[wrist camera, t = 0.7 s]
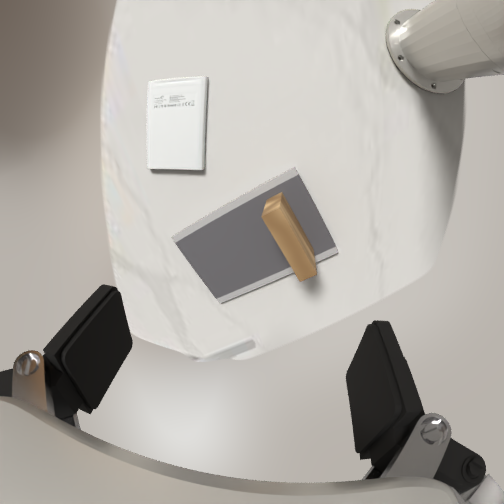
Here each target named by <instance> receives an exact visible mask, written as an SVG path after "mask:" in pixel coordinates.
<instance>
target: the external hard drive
mask: <svg viewBox="0 0 504 504" xmlns="http://www.w3.org/2000/svg"><path fill="white" fill-rule="evenodd" d="M207 87H208V77H207V76H193V77H181V78H170V79H161V80H153V81H148V95H147V169H181V170H203V169H205V132H206V106H207Z"/></svg>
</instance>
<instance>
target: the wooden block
mask: <svg viewBox="0 0 504 504" xmlns="http://www.w3.org/2000/svg"><path fill="white" fill-rule="evenodd" d="M261 217H262V219H263V221H264V222H265V224H266V226H267V227H268V229H269V230H270V232H271V234H272V235H273V237H274V239H275V240H276V242H277V244H278V245H279V247H280V249H281V251H282V252H283V254H284V256H285V257H286V259H287V261H288V262H289V264H290V266H291V267H292V269H293V271H294V273H295V274H296V276H297V278H298V279H299V281H300V282H301V281H303V280H305V279H308V278H310V277H312V276H315V275H317V271H316V263H315V255H314V249H313V247H312V245H311V243H310V242H309V240H308V238H307V236H306V234H305V232H304V230H303V229H302V227H301V225H300V223H299V221H298V220H297V218H296V216H295V214H294V212H293V211H292V209H291V207H290V205H289V204H288V202H287V200H286V198H285V196H284V195H283V193H282V192H281V193H279V194H277V195H275V196H273V197H271V198H269V199H267V201H266V204H265V207H264V210H263V213H262V216H261Z"/></svg>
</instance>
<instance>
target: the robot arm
mask: <svg viewBox="0 0 504 504" xmlns="http://www.w3.org/2000/svg"><path fill="white" fill-rule="evenodd" d="M395 23H396V24H395ZM386 42H387V47H388V49H389V52H390V55H391V57H392V59H393V60H394V62H395V64H396V65H397V67H398V68H399V69H400V71H401V72H402V73H403V74H404V75H405V76H406V77H407V78H408V79H409V80H410V81H412V82H413V83H414V84H416V85H417V86H419V87H420V88H422V89H425V90H427V91H429V92H434V93H449V92H452V91H455V90H456V89H458V88H459V87H460V86H461V85H462V83H463V82H464V80H465V78H473V77H482V76H494V75H504V0H434V1H433V2H431V3H430V4H429V5H427V6H426V7H425V8H423V9H422V10H417V9H406V10H403V11H400V12H398V13H397V14H395V15H394V16H393V17H392V18H391V19H390V21H389V23H388V25H387V29H386ZM398 58H399V59H400V60H399V59H398ZM431 86H432V87H431ZM131 348H132V337H131V334H130V330H129V326H128V322H127V318H126V314H125V310H124V306H123V302H122V297H121V293H120V292H119V291H118V290H117V288H116V287H113V286H109V285H101V286H100V287H99V288H98V289H97V290H96V291H95V292H94V293H93V294H92V295H91V296H90V298H88V300H87V301H86V302H85V303H84V304H83V305H82V306H81V307H80V308H79V309H78V310H77V311H76V312H75V314H74V315H73V316H72V317H71V318H70V319H69V320H68V322H67V323H66V324H65V325H64V326H63V327H62V328H61V329H60V330H59V332H58V333H57V334H56V335H55V336H54V337H53V339H52V340H51V341H50V342H49V343H48V344H47V346H46V347H45V348H44V349H43V351H44V352H45V354H44V355H43V356H42V355H41V353H39V352H38V351H34V350H29V351H26V352H23V353H22V354H20V355H19V356H18V357H17V358H16V360H15V362H14V365H13V369H9V370H5V371H2V372H0V504H504V491H503V490H502V489H501V488H500V487H499V485H498V484H497V483H496V482H495V480H494V479H493V478H492V477H491V476H490V475H489V474H488V475H487V476H486V475H485V472H486V465H485V462H484V460H483V458H482V457H481V456H480V455H478V454H477V453H475V452H473V451H471V450H470V449H468V448H466V447H465V446H463V445H461V444H460V443H458V442H456V441H455V440H453V439H451V427H450V425H449V423H448V421H447V420H446V419H445V418H444V417H443V416H441V415H439V414H436V413H429V414H425V413H424V410H423V406H422V403H421V400H420V397H419V395H418V392H417V388H416V386H415V383H414V380H413V377H412V374H411V372H410V369H409V366H408V364H407V361H406V359H405V357H403V354H402V351H401V349H400V346H399V344H398V341H397V339H396V336H395V334H394V331H393V329H392V327H391V325H390V323H389V322H388V321H373V322H372V324H369V325H368V326H367V328H366V330H365V332H364V335H363V337H362V340H361V342H360V344H359V347H358V349H357V351H356V353H355V355H354V358H353V360H352V362H351V364H350V366H349V368H348V371H347V374H346V382H347V389H348V396H349V402H350V409H351V417H352V425H353V433H354V442H355V450H356V452H357V453H360V460H361V459H370V458H371V464H372V467H371V468H370V470H369V471H368V472H367V474H366V475H365V476H364V477H363V479H362V480H358V481H346V482H326V483H286V482H269V481H257V480H248V479H240V478H233V477H226V476H220V475H214V474H209V473H204V472H199V471H195V470H190V469H186V468H182V467H178V466H174V465H171V464H167V463H164V462H160V461H157V460H154V459H151V458H147V457H145V456H142V455H139V454H136V453H133V452H130V451H128V450H125V449H122V448H120V447H117V446H115V445H112V444H110V443H107V442H105V441H103V440H101V439H98V438H96V437H94V436H92V435H90V434H88V433H86V432H84V431H82V430H81V429H80V426H79V421H78V417H77V411H78V409H80V410H82V411H84V412H87V413H89V414H91V412H92V411H93V409H96V408H97V407H98V406H99V404H100V402H101V400H102V398H103V397H104V395H105V393H106V391H107V389H108V388H109V386H110V384H111V382H112V381H113V379H114V377H115V375H116V374H117V372H118V370H119V368H120V367H121V365H122V364H123V361H124V360H125V359H126V357H127V355H128V354H129V352H130V350H131Z"/></svg>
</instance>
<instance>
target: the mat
mask: <svg viewBox="0 0 504 504" xmlns="http://www.w3.org/2000/svg"><path fill="white" fill-rule="evenodd" d="M281 192H282V193H283V195H284V196H285V198H286V200H287V202H288V204H289V205H290V207H291V209H292V211H293V212H294V214H295V216H296V218H297V220H298V221H299V223H300V225H301V227H302V229H303V230H304V232H305V234H306V236H307V238H308V240H309V242H310V243H311V245H312V247H313V249H314V255H315V263H316V262H319V261H321V260H323V259H325V258H327V257H330V256H332V255H334V254H336V253H338V250H337V247H336V245H335V243H334V241H333V239H332V237H331V235H330V233H329V231H328V229H327V227H326V225H325V223H324V221H323V219H322V217H321V215H320V213H319V211H318V209H317V207H316V205H315V204H314V202H313V200H312V198H311V196H310V194H309V192H308V190H307V189H306V187H305V185H304V183H303V181H302V179H301V178H300V176H299V174H298V172H297V170H296V169H295V167H293V168H291V169H289V170H287V171H285V172H284V173H282V174H280V175H278V176H276V177H274V178H272V179H270V180H268V181H267V182H265V183H263V184H261V185H259V186H257V187H256V188H254V189H252V190H250V191H248V192H247V193H245V194H243V195H241V196H239V197H238V198H236V199H234V200H232V201H230V202H229V203H227V204H225V205H223V206H222V207H220V208H218V209H217V210H215V211H213V212H211V213H210V214H208V215H206V216H205V217H203V218H201V219H200V220H198V221H196V222H195V223H193V224H191V225H190V226H188V227H186V228H185V229H183V230H181V231H180V232H178V233H176V234H175V235H173V236H172V237H171V238H172V239H173V241H174V242H175V243H176V245H177V246H178V248H179V249H180V251H181V252H182V253H183V255H184V256H185V257H186V259H187V260H188V262H189V263H190V264H191V266H192V267H193V268H194V270H195V271H196V273H197V274H198V275H199V277H200V278H201V279H202V281H203V282H204V283H205V285H206V286H207V287H208V289H209V290H210V291H211V293H212V294H213V295H214V296H215V298H216V299H217V300H218V302H219V303H222V302H225V301H227V300H230V299H232V298H234V297H237V296H239V295H242V294H244V293H247V292H249V291H251V290H254V289H256V288H259V287H261V286H263V285H266V284H268V283H270V282H273V281H275V280H277V279H280V278H282V277H284V276H287V275H289V274H291V273H294V271H293V269H292V267H291V266H290V264H289V262H288V261H287V259H286V257H285V256H284V254H283V252H282V251H281V249H280V247H279V245H278V244H277V242H276V240H275V239H274V237H273V235H272V234H271V232H270V230H269V229H268V227H267V226H266V224H265V222H264V221H263V219H262V217H261V216H262V213H263V210H264V207H265V204H266V201H267V199H269V198H271V197H273V196H275V195H277V194H279V193H281Z"/></svg>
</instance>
